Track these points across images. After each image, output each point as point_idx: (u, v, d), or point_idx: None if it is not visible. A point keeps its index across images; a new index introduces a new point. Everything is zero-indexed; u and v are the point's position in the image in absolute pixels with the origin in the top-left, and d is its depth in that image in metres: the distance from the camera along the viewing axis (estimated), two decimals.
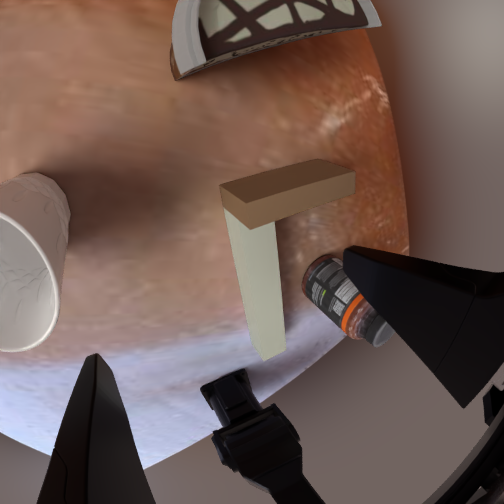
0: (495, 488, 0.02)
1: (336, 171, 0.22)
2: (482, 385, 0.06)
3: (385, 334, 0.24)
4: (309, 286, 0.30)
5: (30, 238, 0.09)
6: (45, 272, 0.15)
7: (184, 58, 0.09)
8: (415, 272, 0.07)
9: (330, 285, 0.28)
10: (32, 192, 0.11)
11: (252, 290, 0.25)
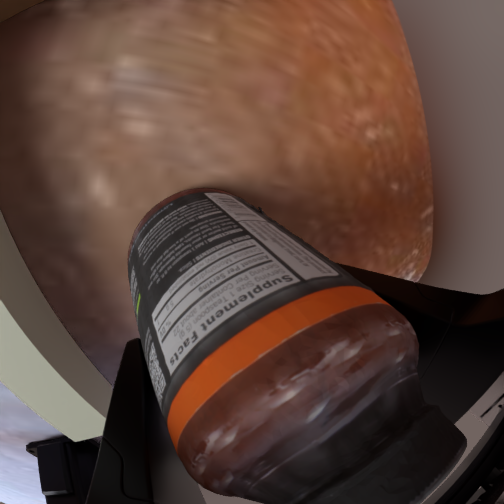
0: (495, 488, 0.02)
1: None
2: (459, 415, 0.05)
3: None
4: (129, 280, 0.09)
5: None
6: None
7: None
8: (384, 293, 0.07)
9: (151, 275, 0.07)
10: None
11: None
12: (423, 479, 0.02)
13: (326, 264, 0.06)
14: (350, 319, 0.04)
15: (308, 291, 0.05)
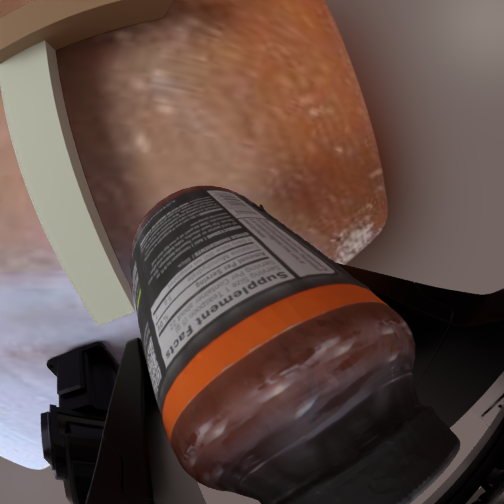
0: (495, 488, 0.02)
1: None
2: (459, 415, 0.05)
3: None
4: (131, 275, 0.09)
5: None
6: None
7: None
8: (384, 293, 0.07)
9: (152, 271, 0.07)
10: None
11: (25, 177, 0.11)
12: (411, 481, 0.02)
13: (323, 262, 0.06)
14: (342, 317, 0.04)
15: (302, 288, 0.05)
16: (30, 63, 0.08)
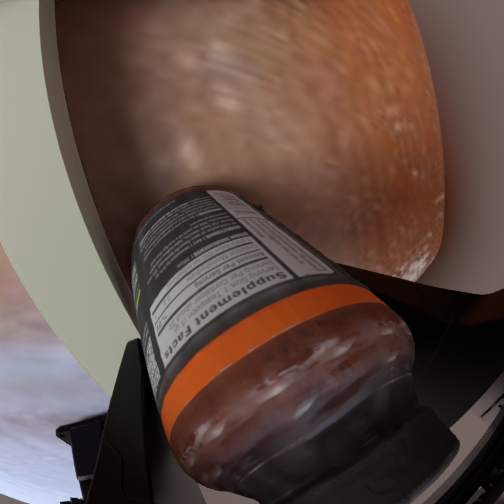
0: (495, 488, 0.02)
1: None
2: (459, 415, 0.05)
3: None
4: (131, 275, 0.09)
5: None
6: None
7: None
8: (384, 293, 0.07)
9: (150, 271, 0.07)
10: None
11: None
12: (410, 482, 0.02)
13: (322, 262, 0.06)
14: (341, 317, 0.04)
15: (301, 288, 0.05)
16: (8, 9, 0.03)
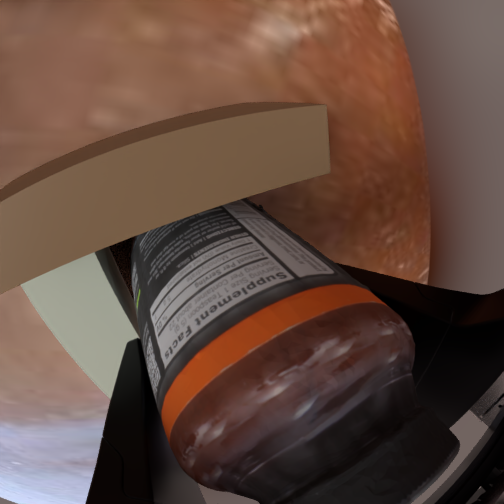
0: (495, 488, 0.02)
1: (267, 107, 0.07)
2: (459, 416, 0.05)
3: None
4: (131, 275, 0.09)
5: None
6: None
7: None
8: (384, 294, 0.07)
9: (151, 271, 0.07)
10: None
11: (104, 390, 0.10)
12: (411, 482, 0.02)
13: (322, 262, 0.06)
14: (341, 317, 0.04)
15: (301, 288, 0.05)
16: (69, 267, 0.07)
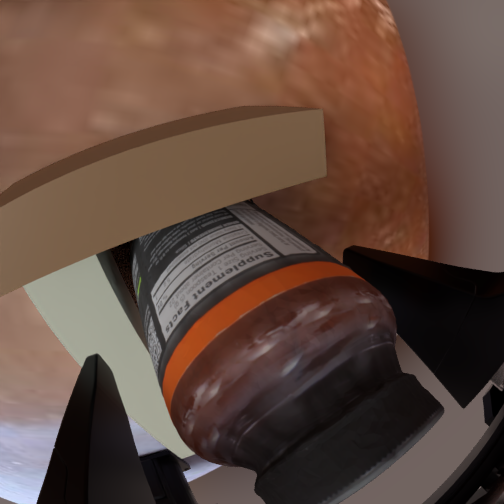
0: (495, 488, 0.02)
1: (264, 112, 0.07)
2: (482, 385, 0.06)
3: None
4: (131, 267, 0.10)
5: None
6: None
7: None
8: (415, 272, 0.07)
9: (151, 259, 0.08)
10: None
11: None
12: (394, 437, 0.03)
13: (306, 244, 0.06)
14: (321, 286, 0.05)
15: (286, 264, 0.05)
16: (71, 269, 0.07)
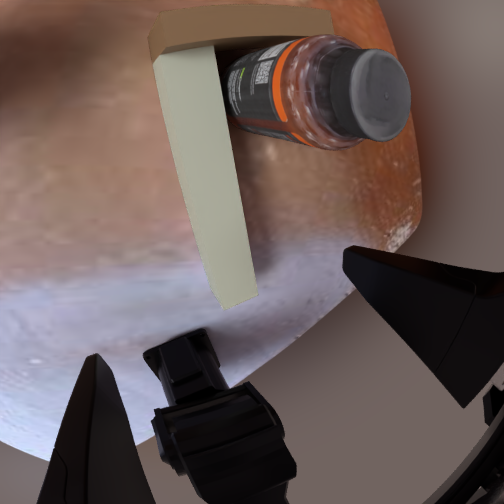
0: (495, 488, 0.02)
1: None
2: (482, 385, 0.06)
3: (381, 99, 0.09)
4: (224, 84, 0.15)
5: None
6: None
7: None
8: (415, 272, 0.07)
9: (252, 57, 0.12)
10: None
11: (187, 172, 0.15)
12: (377, 49, 0.08)
13: None
14: None
15: None
16: (199, 64, 0.12)
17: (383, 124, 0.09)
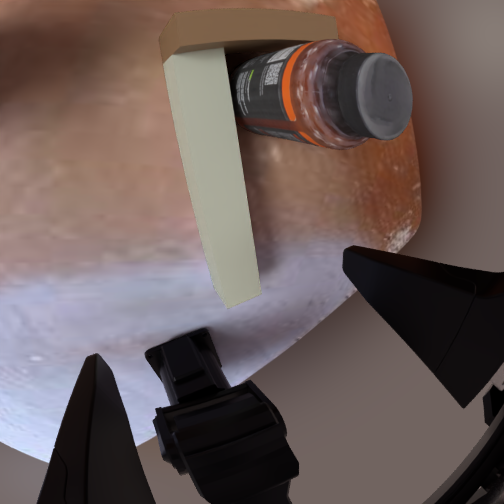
0: (495, 488, 0.02)
1: None
2: (482, 385, 0.06)
3: (385, 100, 0.09)
4: (233, 86, 0.15)
5: None
6: None
7: None
8: (415, 272, 0.07)
9: (261, 60, 0.13)
10: None
11: (196, 169, 0.16)
12: None
13: None
14: None
15: None
16: (209, 65, 0.13)
17: (387, 124, 0.10)
